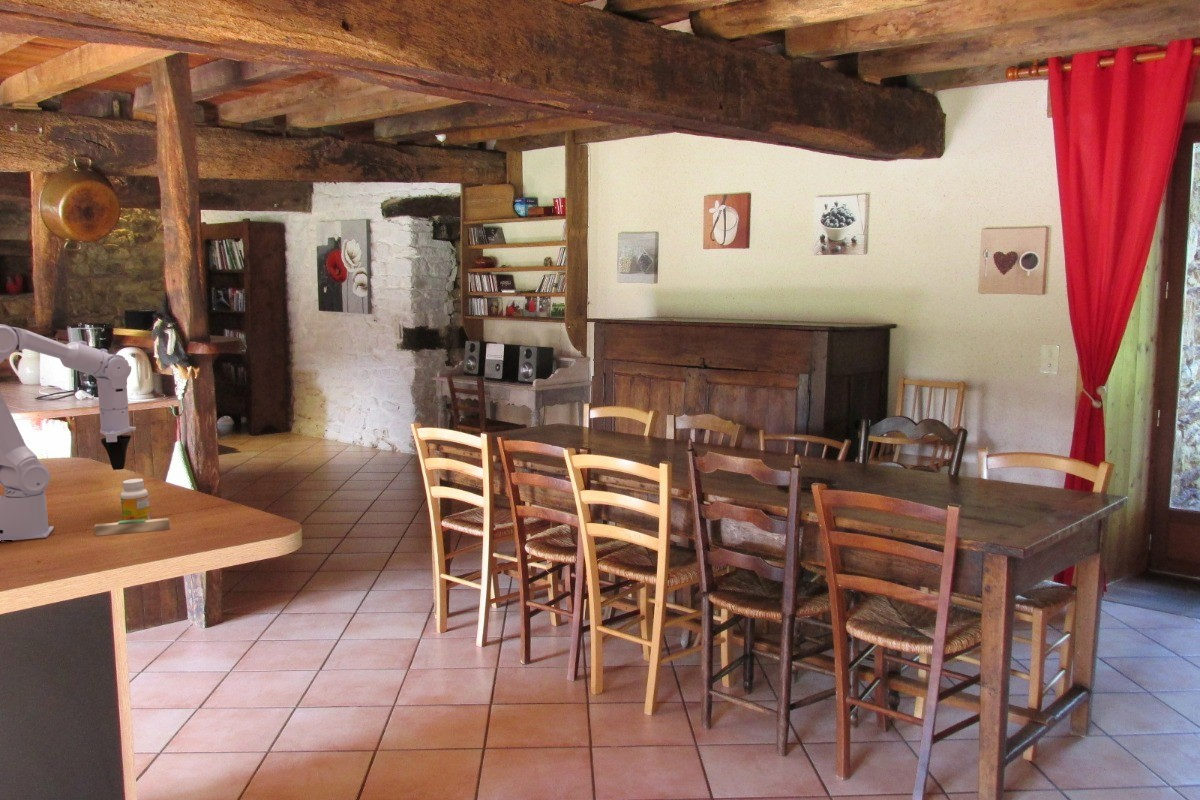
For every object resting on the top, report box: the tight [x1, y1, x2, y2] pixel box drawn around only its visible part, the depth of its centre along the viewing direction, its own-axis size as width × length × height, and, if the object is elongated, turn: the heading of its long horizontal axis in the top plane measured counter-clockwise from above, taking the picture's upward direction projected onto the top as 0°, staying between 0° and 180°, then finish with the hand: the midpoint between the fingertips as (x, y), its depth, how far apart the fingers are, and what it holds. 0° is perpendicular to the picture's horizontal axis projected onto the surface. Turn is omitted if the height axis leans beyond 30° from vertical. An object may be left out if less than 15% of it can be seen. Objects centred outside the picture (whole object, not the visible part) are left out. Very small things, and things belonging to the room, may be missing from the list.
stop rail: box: [93, 517, 171, 537], centre depth 204 cm, size 14×2×2 cm, turn 109°
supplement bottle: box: [120, 478, 151, 521], centre depth 208 cm, size 5×5×10 cm
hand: (118, 469), depth 216 cm, fingers closed
